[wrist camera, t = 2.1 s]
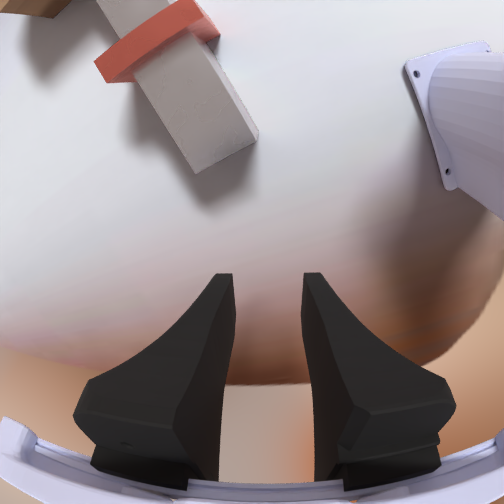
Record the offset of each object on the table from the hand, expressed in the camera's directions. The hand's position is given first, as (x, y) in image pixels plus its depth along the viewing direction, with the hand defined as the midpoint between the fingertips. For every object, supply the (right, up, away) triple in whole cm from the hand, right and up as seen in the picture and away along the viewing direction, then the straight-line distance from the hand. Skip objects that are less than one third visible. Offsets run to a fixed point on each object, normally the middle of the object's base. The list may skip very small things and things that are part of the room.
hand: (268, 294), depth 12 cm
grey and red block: (-6, +14, +3) cm, 16 cm away
